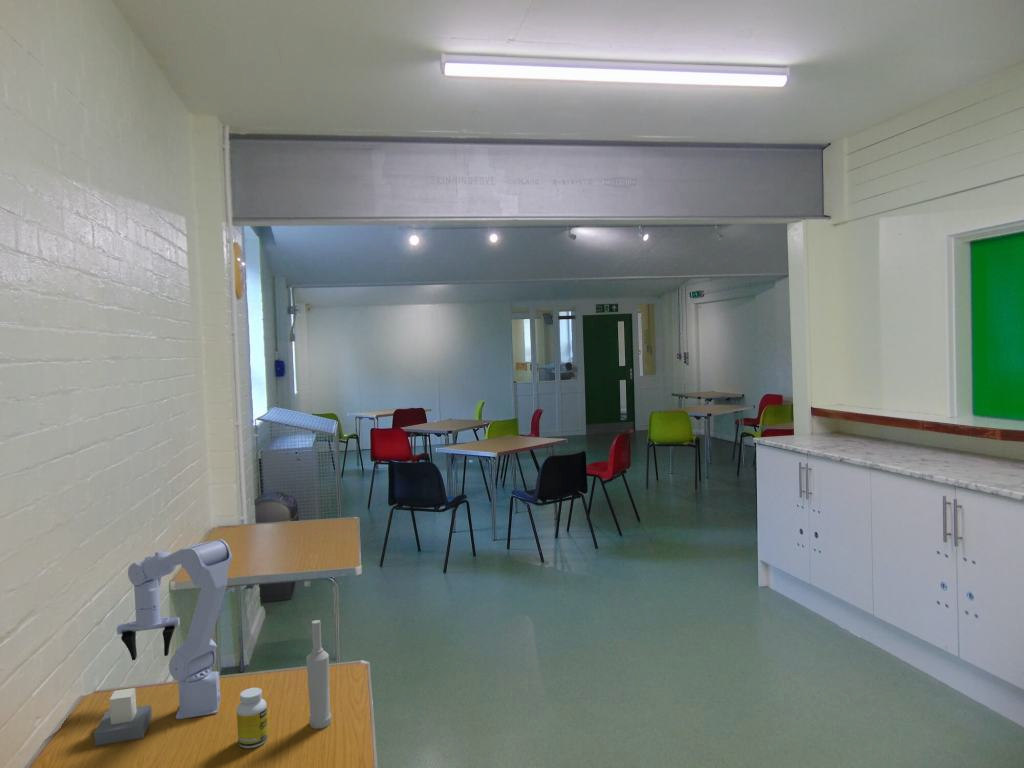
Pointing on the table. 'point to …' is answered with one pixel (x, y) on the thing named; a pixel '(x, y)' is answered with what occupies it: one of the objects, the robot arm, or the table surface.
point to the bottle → (318, 681)
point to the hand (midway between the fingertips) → (150, 656)
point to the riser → (123, 727)
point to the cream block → (123, 706)
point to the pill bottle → (252, 718)
